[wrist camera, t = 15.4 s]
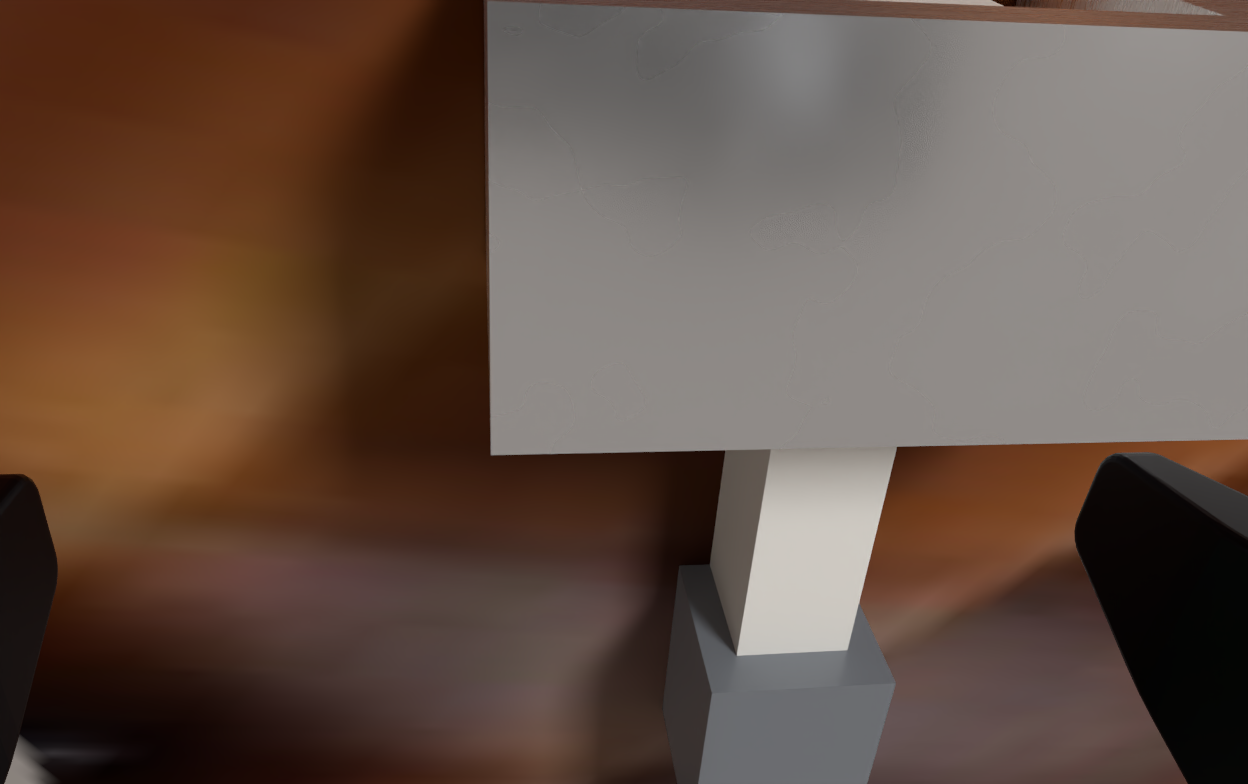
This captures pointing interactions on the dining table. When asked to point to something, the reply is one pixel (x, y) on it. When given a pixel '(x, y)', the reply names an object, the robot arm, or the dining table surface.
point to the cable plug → (782, 621)
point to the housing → (864, 223)
